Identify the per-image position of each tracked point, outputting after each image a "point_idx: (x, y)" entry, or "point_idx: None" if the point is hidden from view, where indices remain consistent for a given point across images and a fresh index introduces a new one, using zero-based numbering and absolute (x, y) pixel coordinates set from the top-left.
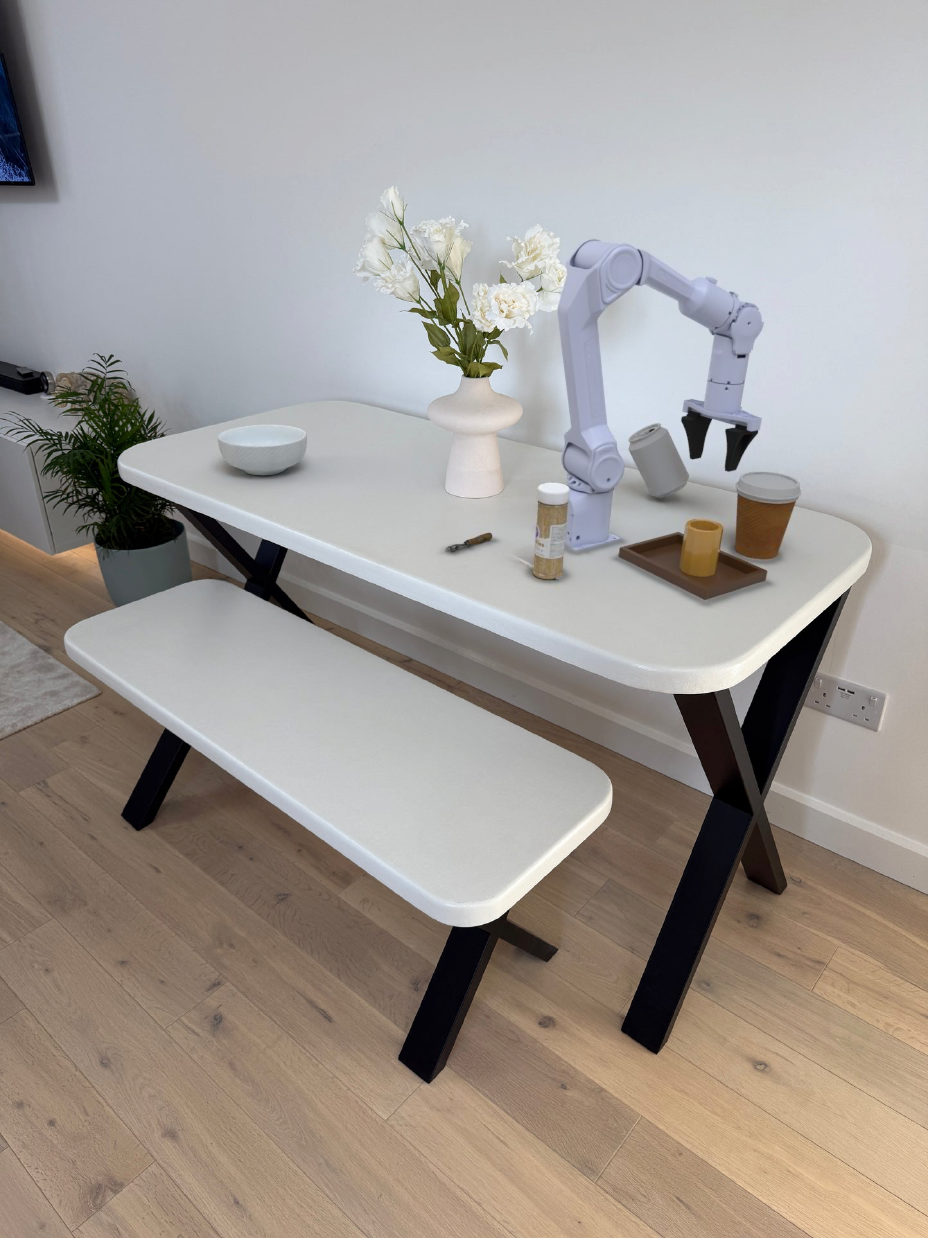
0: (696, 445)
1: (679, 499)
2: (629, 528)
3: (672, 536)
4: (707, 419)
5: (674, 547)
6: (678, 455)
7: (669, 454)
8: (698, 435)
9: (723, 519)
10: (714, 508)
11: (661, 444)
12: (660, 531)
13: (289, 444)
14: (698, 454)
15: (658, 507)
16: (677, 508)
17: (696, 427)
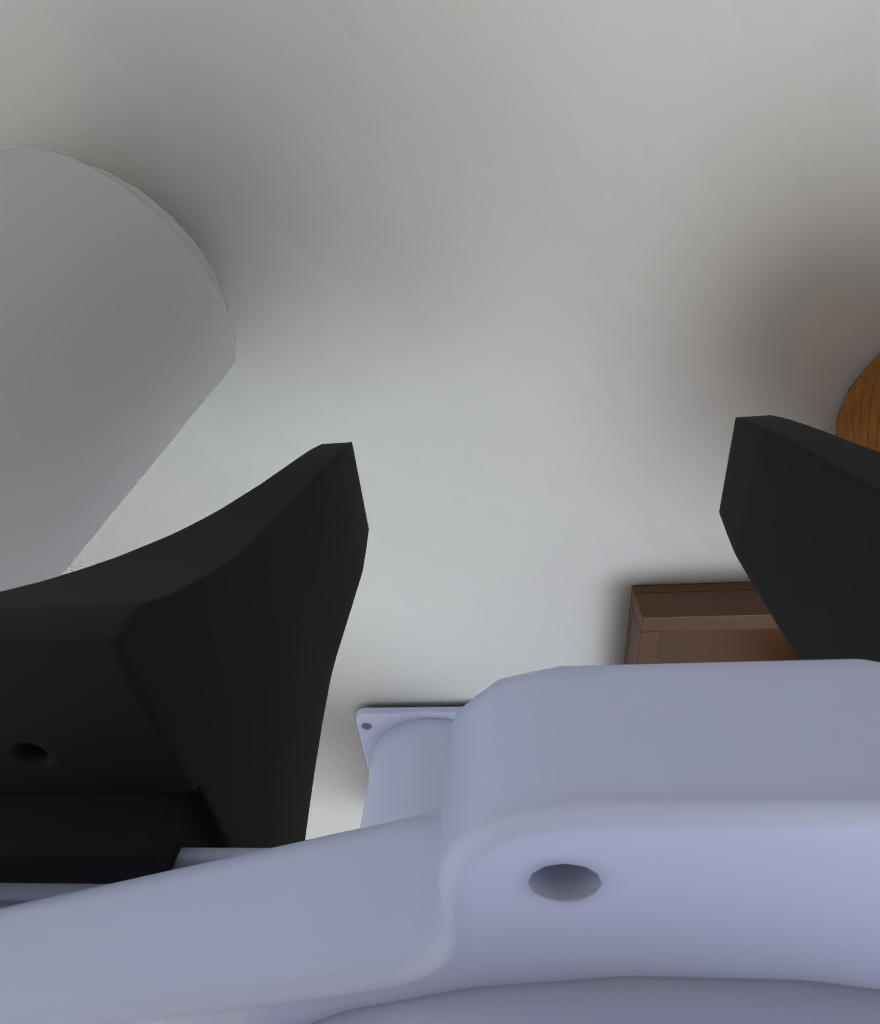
0: (336, 577)
1: (177, 200)
2: (430, 625)
3: (656, 653)
4: (204, 695)
5: (673, 636)
6: (30, 341)
7: (74, 463)
8: (305, 637)
9: (546, 200)
10: (380, 101)
11: (12, 562)
12: (508, 561)
13: None
14: (353, 494)
15: (264, 393)
16: (305, 317)
17: (288, 755)
